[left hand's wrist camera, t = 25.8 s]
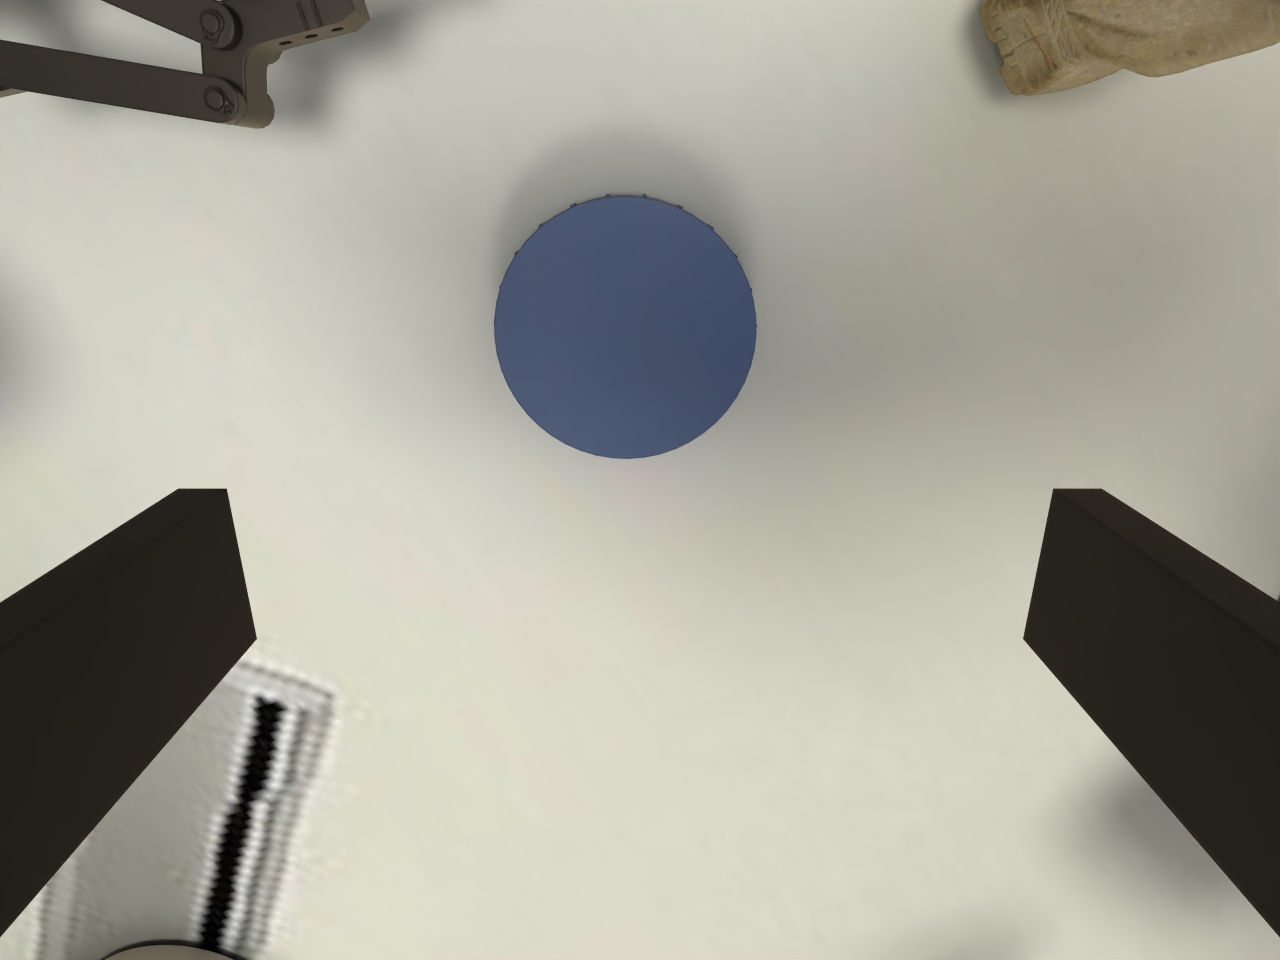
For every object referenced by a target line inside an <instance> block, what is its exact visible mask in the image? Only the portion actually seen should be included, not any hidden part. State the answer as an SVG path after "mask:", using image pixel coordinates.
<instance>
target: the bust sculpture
mask: <svg viewBox="0 0 1280 960" xmlns="http://www.w3.org/2000/svg"><path fill="white" fill-rule="evenodd" d="M105 960H233V959H231V958H229V957H226V956H223V955H221V954H218V953H214V952H211V951H207V950H203V949H199V948H193V947H187V946H177V945H154V946H144V947H138V948H134V949H130V950H126V951H123V952H120V953H117V954H115V955H113V956H111V957H109V958H107V959H105Z"/></svg>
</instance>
